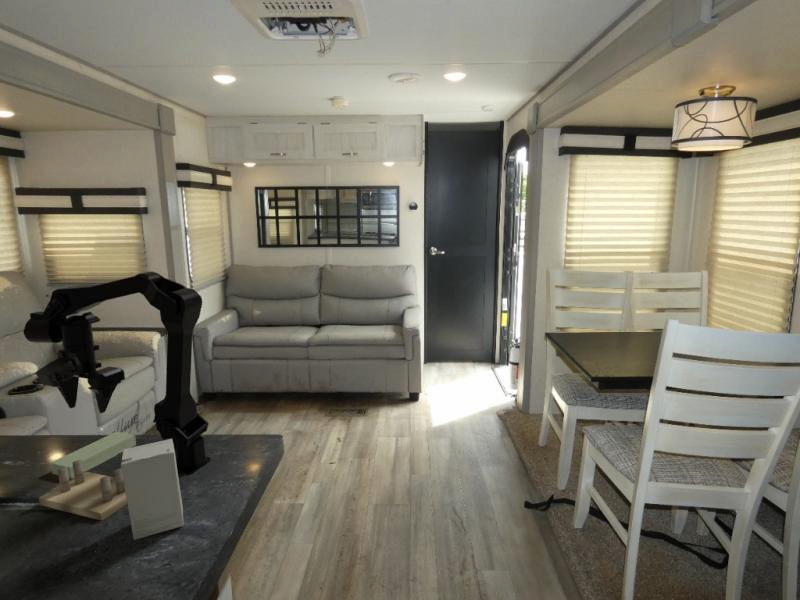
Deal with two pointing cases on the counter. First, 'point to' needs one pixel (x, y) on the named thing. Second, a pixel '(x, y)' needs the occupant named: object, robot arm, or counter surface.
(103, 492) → the peg stand
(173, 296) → the robot arm
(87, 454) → the plank
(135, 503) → the skincare box
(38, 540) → the counter surface
